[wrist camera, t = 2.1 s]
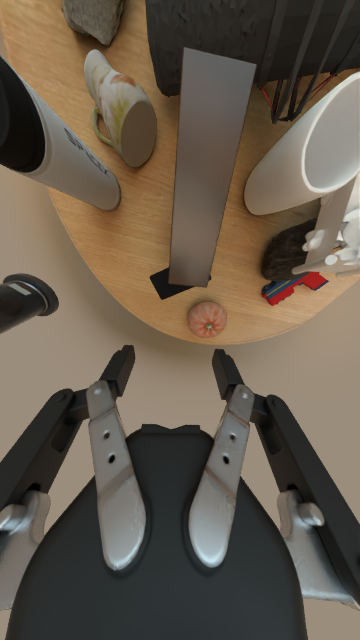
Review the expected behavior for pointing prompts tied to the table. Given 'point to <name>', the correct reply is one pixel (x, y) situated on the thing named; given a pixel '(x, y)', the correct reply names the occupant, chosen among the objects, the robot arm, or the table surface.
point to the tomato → (207, 319)
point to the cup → (310, 154)
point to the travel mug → (49, 146)
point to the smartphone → (167, 284)
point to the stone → (94, 17)
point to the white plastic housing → (336, 233)
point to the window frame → (205, 158)
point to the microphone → (257, 40)
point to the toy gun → (291, 287)
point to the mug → (121, 110)
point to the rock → (287, 253)
